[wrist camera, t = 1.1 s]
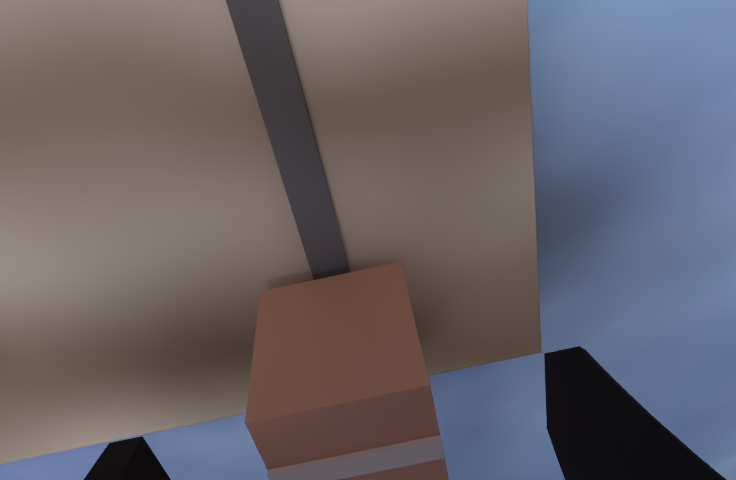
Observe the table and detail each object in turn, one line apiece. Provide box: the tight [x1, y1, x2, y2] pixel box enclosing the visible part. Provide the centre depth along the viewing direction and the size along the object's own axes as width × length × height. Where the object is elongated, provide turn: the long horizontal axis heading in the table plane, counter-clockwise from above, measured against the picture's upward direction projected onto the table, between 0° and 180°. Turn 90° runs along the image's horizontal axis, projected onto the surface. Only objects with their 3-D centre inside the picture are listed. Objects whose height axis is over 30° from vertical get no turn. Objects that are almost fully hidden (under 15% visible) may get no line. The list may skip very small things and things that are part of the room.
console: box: [0, 0, 541, 464], centre depth 11 cm, size 16×19×2 cm
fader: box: [245, 262, 449, 480], centre depth 11 cm, size 3×3×4 cm
